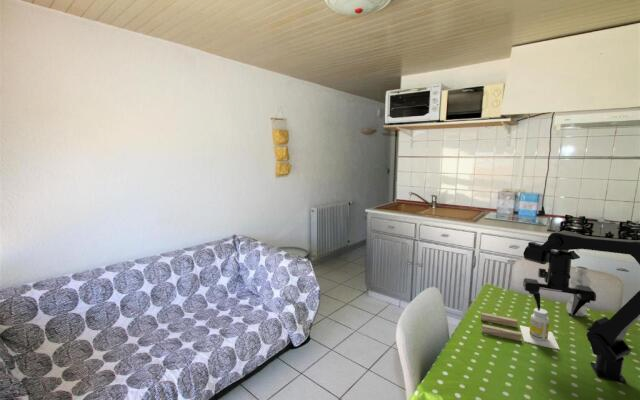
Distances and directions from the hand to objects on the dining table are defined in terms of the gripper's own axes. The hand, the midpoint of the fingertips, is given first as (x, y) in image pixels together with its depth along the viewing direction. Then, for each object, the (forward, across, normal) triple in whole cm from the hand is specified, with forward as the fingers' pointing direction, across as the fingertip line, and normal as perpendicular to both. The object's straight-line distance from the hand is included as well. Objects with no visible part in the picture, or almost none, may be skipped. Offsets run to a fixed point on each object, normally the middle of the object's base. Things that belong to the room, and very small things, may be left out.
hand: (555, 313), depth 103 cm
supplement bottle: (+11, +4, -3) cm, 12 cm away
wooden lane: (+11, +15, -3) cm, 19 cm away
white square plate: (+12, +3, -3) cm, 13 cm away
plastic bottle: (+12, -14, -29) cm, 34 cm away
